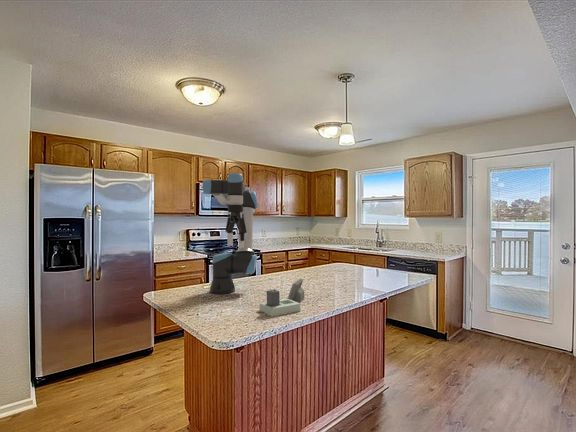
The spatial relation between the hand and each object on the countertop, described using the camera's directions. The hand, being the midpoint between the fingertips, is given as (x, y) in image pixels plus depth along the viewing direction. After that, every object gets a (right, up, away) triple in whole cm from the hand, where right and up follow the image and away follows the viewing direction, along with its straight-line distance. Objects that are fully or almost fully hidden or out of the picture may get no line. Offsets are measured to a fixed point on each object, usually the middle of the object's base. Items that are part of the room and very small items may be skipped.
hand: (235, 246), depth 162 cm
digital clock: (+30, -31, +16) cm, 46 cm away
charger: (+19, -31, -7) cm, 37 cm away
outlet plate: (+22, -31, -5) cm, 38 cm away
